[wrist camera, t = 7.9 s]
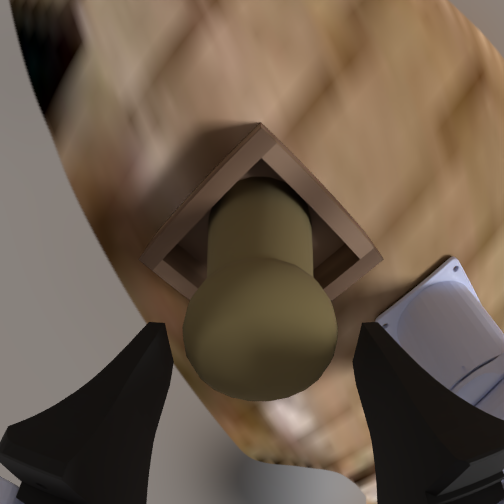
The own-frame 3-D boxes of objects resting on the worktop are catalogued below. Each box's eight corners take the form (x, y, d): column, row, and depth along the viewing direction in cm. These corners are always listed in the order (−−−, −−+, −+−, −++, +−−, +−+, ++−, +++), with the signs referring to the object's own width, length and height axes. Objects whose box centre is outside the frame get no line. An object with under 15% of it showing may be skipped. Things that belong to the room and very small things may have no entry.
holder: (366, 233, 20) (383, 259, 17) (261, 318, 23) (261, 352, 20) (260, 122, 17) (261, 128, 14) (155, 233, 20) (138, 259, 17)
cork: (259, 287, 21) (258, 439, 11) (187, 226, 19) (124, 363, 9) (331, 227, 19) (394, 364, 9) (260, 153, 17) (262, 241, 7)
